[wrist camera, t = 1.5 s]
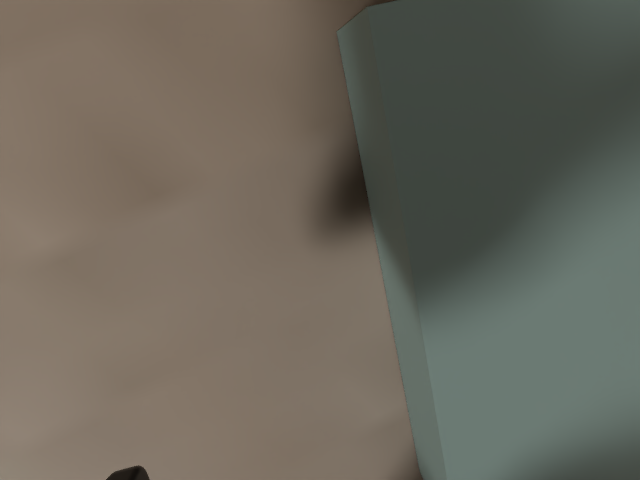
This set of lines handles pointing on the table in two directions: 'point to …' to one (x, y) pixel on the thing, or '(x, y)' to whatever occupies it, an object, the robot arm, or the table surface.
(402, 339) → the deck
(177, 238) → the table surface
